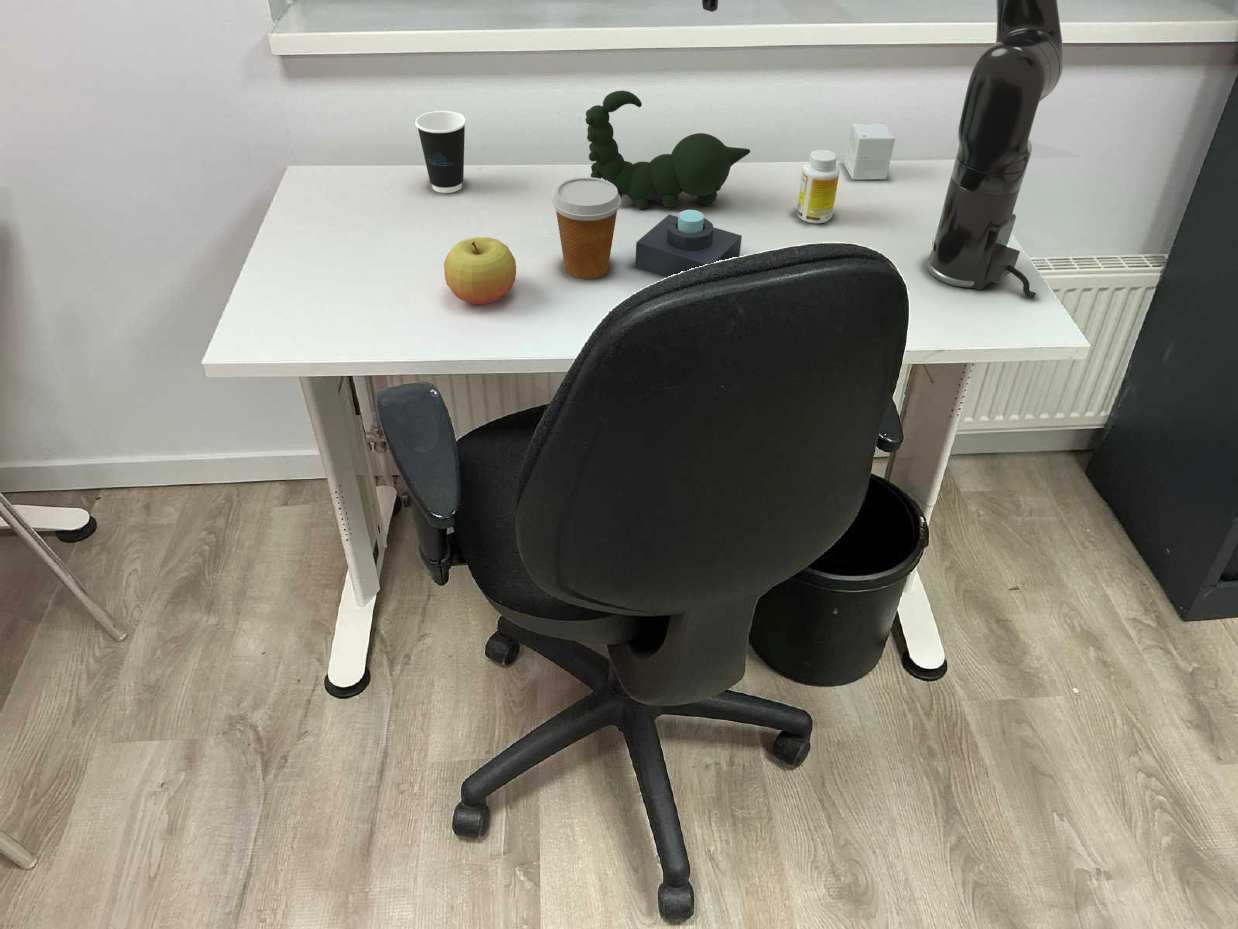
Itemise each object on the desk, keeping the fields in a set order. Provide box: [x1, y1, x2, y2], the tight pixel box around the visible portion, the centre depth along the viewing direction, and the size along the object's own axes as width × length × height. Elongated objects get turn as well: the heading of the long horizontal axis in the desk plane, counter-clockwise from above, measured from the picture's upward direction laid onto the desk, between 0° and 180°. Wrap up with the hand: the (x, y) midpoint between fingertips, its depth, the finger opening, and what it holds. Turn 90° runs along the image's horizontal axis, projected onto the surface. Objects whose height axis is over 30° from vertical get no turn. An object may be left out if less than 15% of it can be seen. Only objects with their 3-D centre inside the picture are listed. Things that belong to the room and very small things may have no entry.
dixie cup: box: [414, 110, 467, 194], centre depth 158 cm, size 8×8×11 cm
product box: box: [844, 123, 896, 181], centre depth 167 cm, size 6×6×7 cm
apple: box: [443, 236, 517, 305], centre depth 135 cm, size 10×10×8 cm
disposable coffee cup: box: [551, 176, 622, 280], centre depth 140 cm, size 10×10×12 cm
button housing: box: [634, 213, 743, 278], centre depth 143 cm, size 12×10×6 cm
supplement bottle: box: [796, 149, 840, 224], centre depth 154 cm, size 6×6×10 cm
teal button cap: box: [677, 209, 705, 233], centre depth 141 cm, size 4×4×2 cm
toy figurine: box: [585, 90, 751, 210], centre depth 154 cm, size 9×19×25 cm
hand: (727, 3), depth 146 cm, fingers open, 8 cm apart
